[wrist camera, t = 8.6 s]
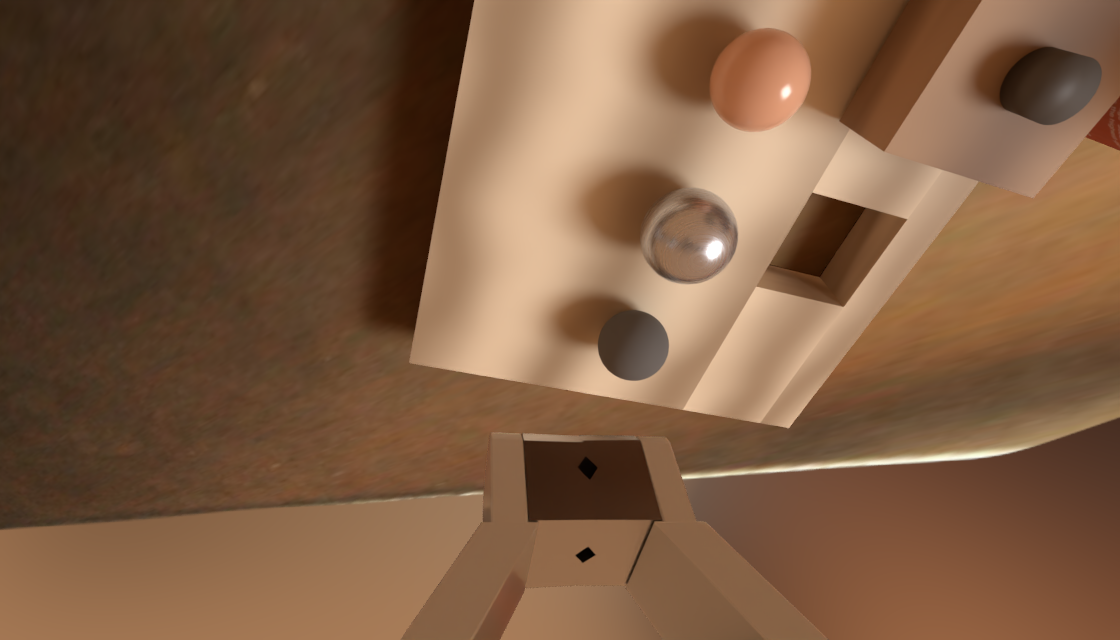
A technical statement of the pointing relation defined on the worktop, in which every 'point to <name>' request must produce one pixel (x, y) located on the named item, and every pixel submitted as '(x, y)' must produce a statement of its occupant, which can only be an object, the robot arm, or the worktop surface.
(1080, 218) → the worktop surface
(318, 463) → the worktop surface
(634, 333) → the black rubber ball
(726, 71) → the terracotta ball
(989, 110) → the cover
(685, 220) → the steel ball
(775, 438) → the worktop surface
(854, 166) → the board
